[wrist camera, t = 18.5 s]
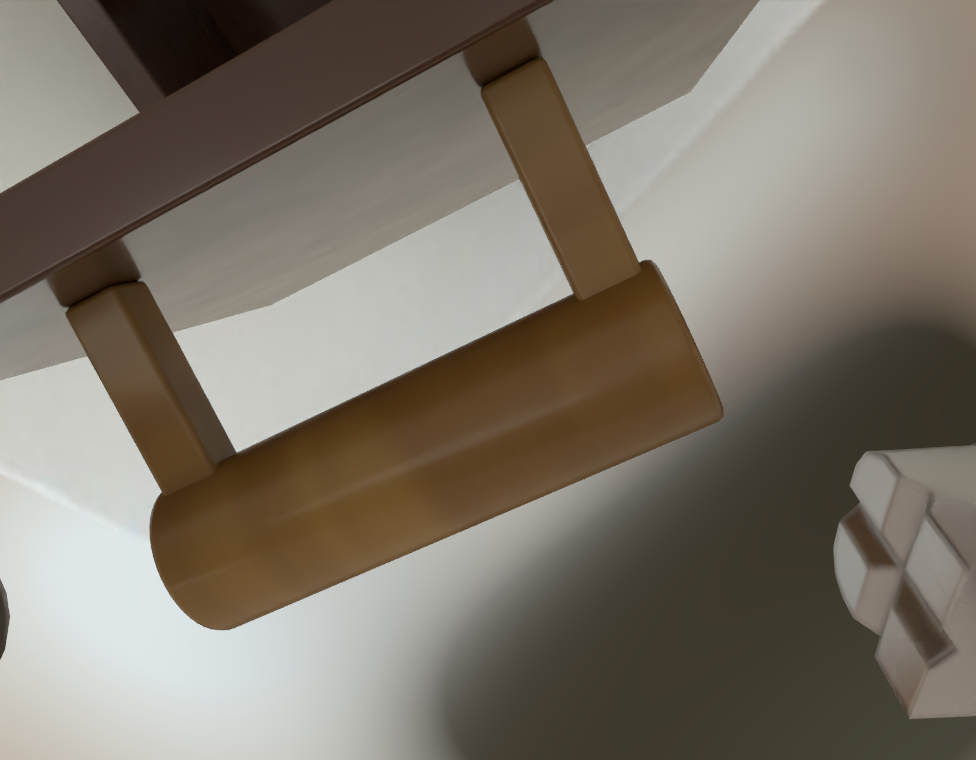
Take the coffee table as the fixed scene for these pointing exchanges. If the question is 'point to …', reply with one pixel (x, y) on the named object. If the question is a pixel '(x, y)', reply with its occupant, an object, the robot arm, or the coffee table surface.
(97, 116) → the coffee table surface
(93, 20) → the chest
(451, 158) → the lid
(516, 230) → the coffee table surface
